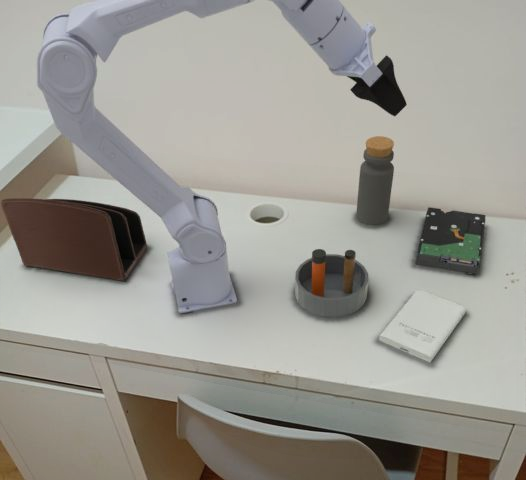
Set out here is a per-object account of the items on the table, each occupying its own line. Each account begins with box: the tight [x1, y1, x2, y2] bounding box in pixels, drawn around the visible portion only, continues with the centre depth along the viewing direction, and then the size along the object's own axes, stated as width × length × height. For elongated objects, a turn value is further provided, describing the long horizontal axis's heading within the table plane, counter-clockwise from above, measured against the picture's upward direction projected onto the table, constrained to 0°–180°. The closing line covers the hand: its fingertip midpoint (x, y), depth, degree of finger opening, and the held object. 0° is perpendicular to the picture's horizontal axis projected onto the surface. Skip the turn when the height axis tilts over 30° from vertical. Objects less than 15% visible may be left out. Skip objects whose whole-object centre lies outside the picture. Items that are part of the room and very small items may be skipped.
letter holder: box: [0, 197, 148, 282], centre depth 99 cm, size 10×20×14 cm, turn 74°
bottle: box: [355, 135, 395, 227], centre depth 103 cm, size 6×6×15 cm
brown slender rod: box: [342, 249, 357, 293], centre depth 91 cm, size 2×2×8 cm
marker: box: [311, 248, 327, 297], centre depth 90 cm, size 2×2×8 cm
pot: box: [294, 253, 370, 319], centre depth 92 cm, size 11×11×4 cm
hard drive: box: [378, 289, 467, 363], centre depth 87 cm, size 2×8×12 cm
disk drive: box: [415, 206, 486, 275], centre depth 100 cm, size 10×3×15 cm
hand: (389, 98), depth 77 cm, fingers open, 7 cm apart
